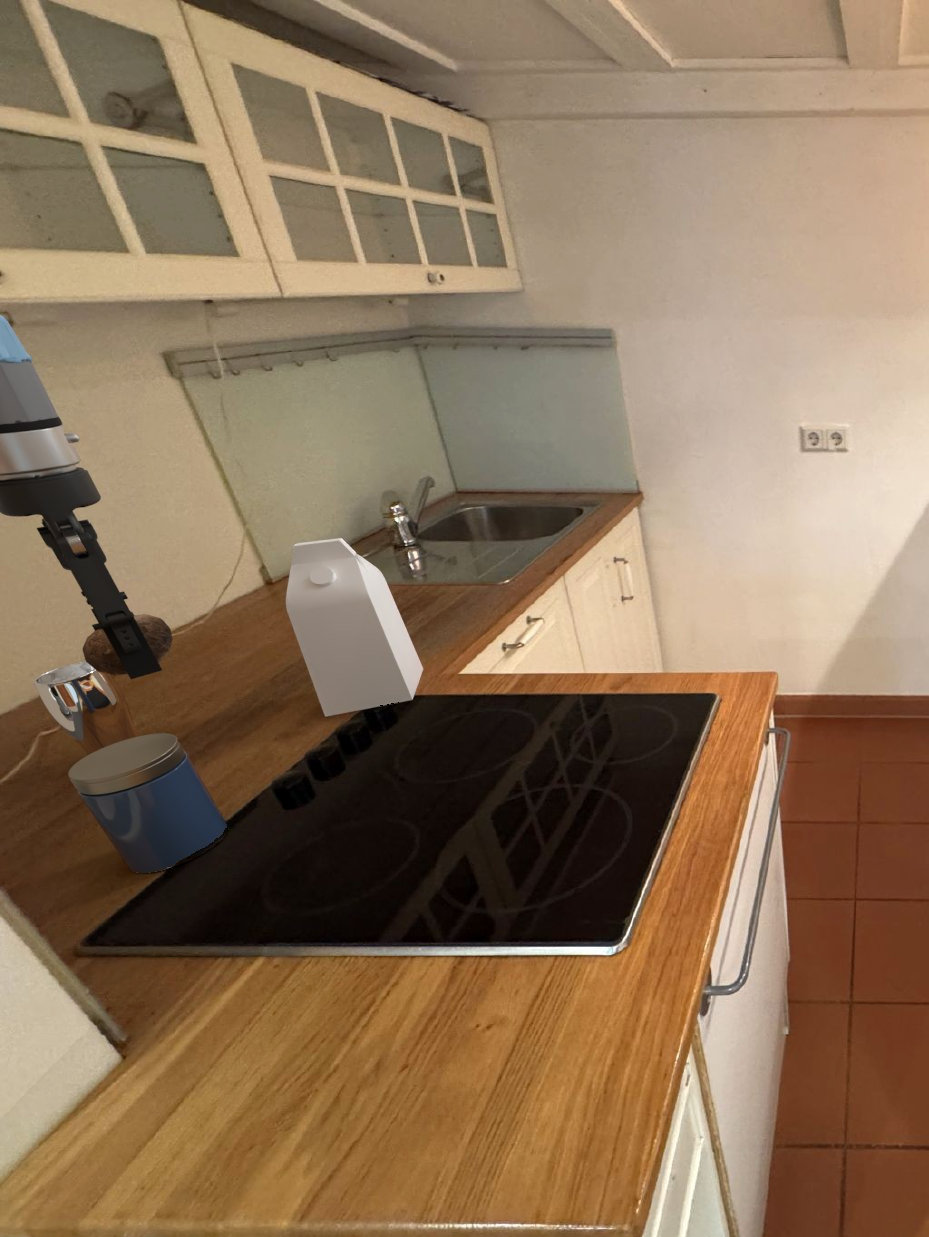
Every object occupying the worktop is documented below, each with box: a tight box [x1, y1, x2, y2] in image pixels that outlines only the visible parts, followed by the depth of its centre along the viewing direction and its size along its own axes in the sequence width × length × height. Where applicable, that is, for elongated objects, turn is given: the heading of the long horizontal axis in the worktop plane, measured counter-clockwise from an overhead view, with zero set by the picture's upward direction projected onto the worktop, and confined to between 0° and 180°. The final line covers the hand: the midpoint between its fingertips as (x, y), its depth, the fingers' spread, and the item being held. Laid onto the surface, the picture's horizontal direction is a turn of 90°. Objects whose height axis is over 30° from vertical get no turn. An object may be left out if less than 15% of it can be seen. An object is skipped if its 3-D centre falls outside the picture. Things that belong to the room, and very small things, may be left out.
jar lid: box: [67, 732, 186, 795], centre depth 78 cm, size 9×9×2 cm
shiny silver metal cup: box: [32, 660, 139, 756], centre depth 95 cm, size 7×7×15 cm
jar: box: [77, 750, 228, 874], centre depth 80 cm, size 9×9×13 cm
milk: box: [285, 537, 424, 718], centre depth 110 cm, size 12×12×26 cm
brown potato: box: [82, 613, 173, 676], centre depth 82 cm, size 8×8×6 cm
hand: (139, 663), depth 83 cm, fingers closed on brown potato, 7 cm apart
